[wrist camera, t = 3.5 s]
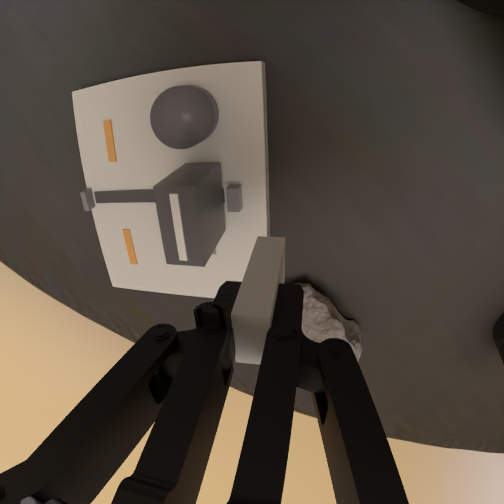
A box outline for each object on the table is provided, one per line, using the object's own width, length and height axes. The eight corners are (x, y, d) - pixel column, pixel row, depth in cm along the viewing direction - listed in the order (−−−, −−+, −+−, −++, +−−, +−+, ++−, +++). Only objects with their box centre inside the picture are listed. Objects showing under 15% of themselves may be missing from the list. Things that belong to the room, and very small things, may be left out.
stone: (290, 267, 32) (285, 305, 27) (377, 298, 32) (385, 336, 27) (264, 323, 36) (256, 362, 31) (342, 347, 36) (344, 386, 31)
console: (84, 89, 26) (58, 94, 22) (265, 62, 22) (256, 59, 19) (120, 277, 37) (104, 296, 33) (270, 290, 33) (265, 315, 30)
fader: (185, 163, 25) (151, 187, 20) (220, 162, 25) (194, 186, 20) (193, 228, 28) (165, 265, 23) (225, 229, 28) (204, 268, 23)
